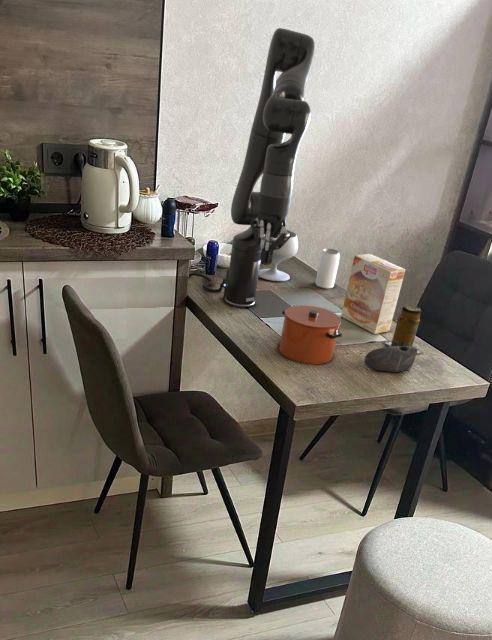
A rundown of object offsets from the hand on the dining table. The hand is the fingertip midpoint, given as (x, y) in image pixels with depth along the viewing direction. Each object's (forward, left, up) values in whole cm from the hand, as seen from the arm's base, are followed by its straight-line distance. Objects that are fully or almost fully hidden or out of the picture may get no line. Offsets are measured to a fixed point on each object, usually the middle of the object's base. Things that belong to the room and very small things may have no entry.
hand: (265, 263), depth 182 cm
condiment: (+17, +46, -25) cm, 55 cm away
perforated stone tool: (+25, +29, -25) cm, 45 cm away
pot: (+6, +16, -25) cm, 30 cm away
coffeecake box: (-1, +50, -25) cm, 55 cm away
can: (-32, +64, -25) cm, 75 cm away
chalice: (-46, +53, -25) cm, 74 cm away
